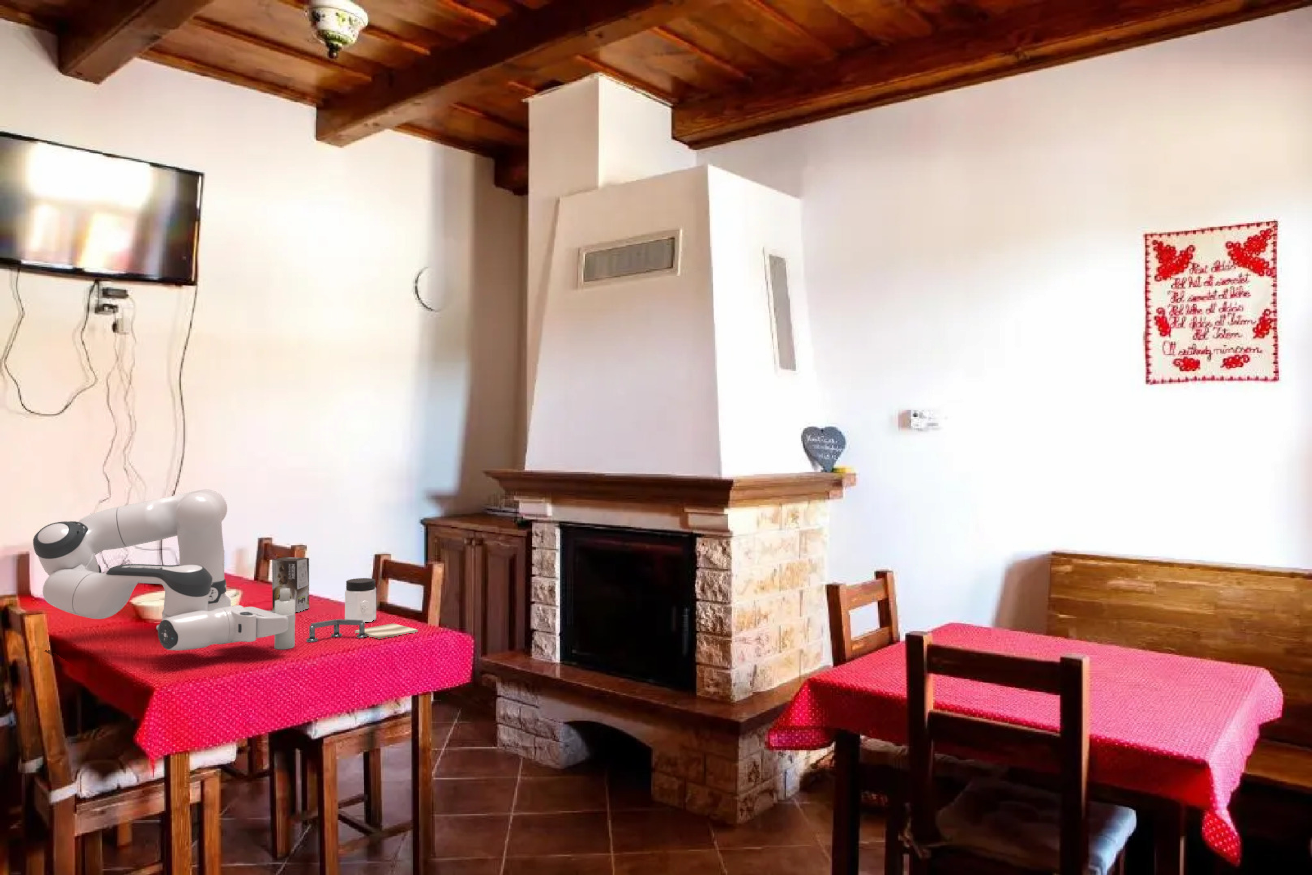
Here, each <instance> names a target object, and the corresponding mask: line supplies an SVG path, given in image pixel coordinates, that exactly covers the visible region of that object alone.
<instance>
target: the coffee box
mask: <svg viewBox="0 0 1312 875" xmlns="http://www.w3.org/2000/svg"><path fill="white" fill-rule="evenodd" d="M271 572H272V573H271V576H272V577H271V578H272V582H271V583H272V584H271V585H272V586H271V587H272V590H271V591H272V593H271V594H272V609H271V611H275V601H276V600H279V599H280V589H282V588H290V599H295V613H296V612H298V613H301V612H304V611H306V610H305V609H308V608H309V609H310V558H309V557H293V556H291V557H290V556H289V557H279V558H276V559H272V560H271ZM309 609H308V610H309ZM303 610H304V611H303ZM300 611H301V612H300Z"/></svg>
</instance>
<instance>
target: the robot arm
mask: <svg viewBox="0 0 1312 875" xmlns="http://www.w3.org/2000/svg"><path fill="white" fill-rule="evenodd" d="M226 501H227V500H225V498H224V497H223V495H221V493H219V492H217V491H215V490H212V489H200V490H195V491H190V492H186V493H181V494H180V493H179V494H176V495H171V496H166V497H162V498H161V497H160V498H156V499H152V500H147V501H141V502H137V503H132V504H126V505H122V506H117V507H111V508H108V509H104V510H101V511H97V512H94V513H92V514H89V515H86V516H84V517H82V518H80V519H79V520H78V521H76V520H75V521H74V520H73V521H71V520H70V521H57V522H53V523H50V524H47V525H45V526H43V527H42V528H40V530H38V531H37V532H36V533H35V535H34V537H33V539H32V544H33V545H32V546H33V550H34V553H35V554H36V556H38V557H37V558H38V560H39V562H40V564H41V566H42V568H43V570H44V572H46V574H47V575H48V577H47V578H46V580H45V581H44V584H43V585H42V586H43V587H42V596H43V599H44V600H45V601H46V603H48V604H49V605H51V606H53V607H55V608H56V609H59V610H61V611H63V612H66V613H69V614H72V615H75V616H79V617H84V618H89V619H93V620H94V619H95V620H102V619H103V620H104V619H106V618H107V619H108V618H110V617H112V616H114V615H116V614H117V613H118V612H120V611H121V610H122V609H123V608H124V607H125V606H126V604H127V603H128V602H129V601H130V598H131V596H132V593H133V592H134V589H135V588H136V586H137V585H138V584H151V585H152V584H153V585H154V584H155V585H162V586H163V589H164V601H163V610H162V612H161V614H162V615H161V616H162V620H161V621H160V623H159V624H157V625H156V630H157V636H158V640H159V642H160V645H161V646H162V647H163V648H164V649H166V650H167V651H188V650H189V651H190V650H197V649H202V648H203V649H204V648H208V647H209V646H212V645H225V644H231V643H238V642H241V643H243V642H244V643H250V642H251V643H252V642H255V641H256V640H257V639H261V638H266V637H271V636H275V635H276V634H280V633H283V632H285V631H287V630H288V622H292V621H295V622H296V613H295V614H286V615H280V614H276V613H275V611H272V610H265V609H262V608H259V607H255V606H243V605H240V604H239V605H237V604H236V605H232V602H231V601H232V600H231V597H229V596H227V595H226V592H227V580H226V578H225V547H224V538H223V524H222V522H223V521H224V520H225V517H226V515H227V512H228V504H227V502H226ZM176 536H177V544H178V552H179V553H178V554H179V556H178V557H179V559H178V560H179V563H178V564H179V565H178V564H175V565H174V564H173V565H170V564H169V565H168V564H150V563H149V564H146V563H145V564H144V563H143V564H142V563H141V564H140V563H138V564H137V563H127V564H126V563H125V564H119V565H114V566H111V567H110V568H109V569H108V570H107V571H106V572H104V573H103V572H102V569H101V566H100V564H99V563H98V560H97V557H96V555H98V554H99V553H101V552H104V551H108V550H110V551H111V550H116V549H123V548H128V547H133V546H138V545H144V544H147V543H153V542H157V541H163V540H165V539H169V538H173V537H176Z"/></svg>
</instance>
